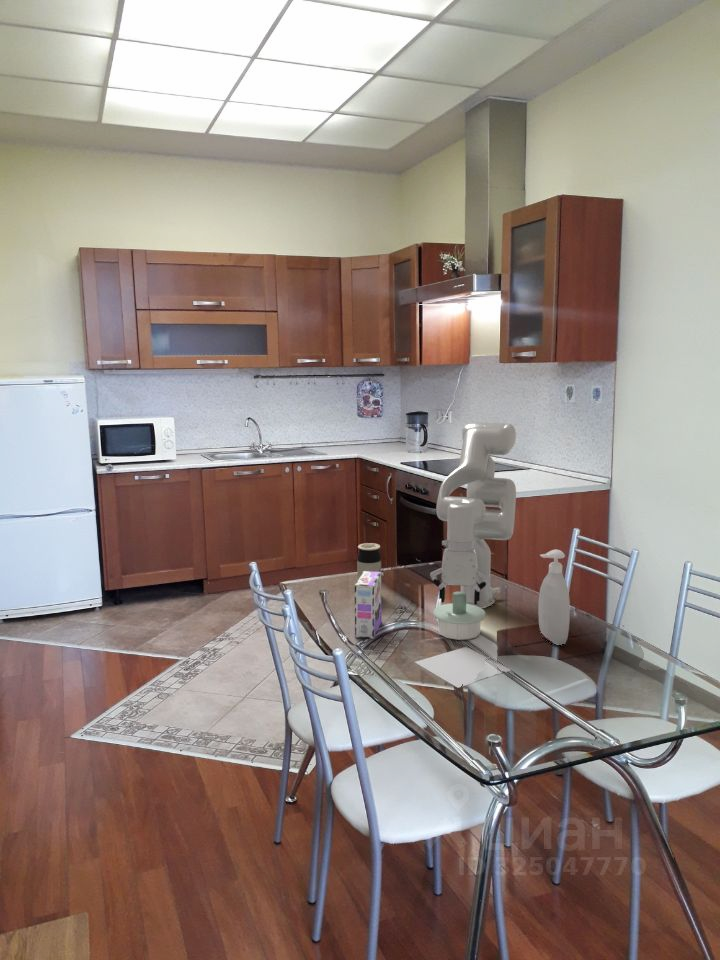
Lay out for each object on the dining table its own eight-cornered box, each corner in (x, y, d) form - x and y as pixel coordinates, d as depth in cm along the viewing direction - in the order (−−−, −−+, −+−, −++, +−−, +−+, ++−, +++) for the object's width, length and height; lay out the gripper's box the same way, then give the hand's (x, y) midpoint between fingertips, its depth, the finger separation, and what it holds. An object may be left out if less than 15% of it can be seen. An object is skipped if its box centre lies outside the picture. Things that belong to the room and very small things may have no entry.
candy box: (374, 639, 215) (373, 585, 212) (354, 638, 216) (353, 584, 213) (382, 622, 228) (382, 571, 225) (363, 620, 229) (363, 570, 226)
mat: (465, 648, 207) (465, 646, 207) (511, 672, 192) (511, 670, 192) (414, 664, 198) (414, 662, 198) (457, 689, 183) (457, 687, 183)
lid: (462, 602, 227) (462, 582, 225) (496, 617, 214) (496, 596, 213) (423, 612, 219) (423, 591, 217) (456, 628, 206) (456, 606, 205)
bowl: (461, 624, 226) (461, 604, 225) (488, 636, 216) (488, 616, 215) (430, 632, 219) (430, 612, 218) (456, 646, 209) (456, 625, 208)
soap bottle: (526, 632, 219) (528, 544, 214) (551, 629, 220) (554, 542, 215) (549, 652, 205) (553, 558, 200) (576, 648, 207) (580, 555, 202)
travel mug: (353, 598, 249) (352, 547, 246) (365, 591, 256) (365, 541, 252) (373, 602, 245) (373, 550, 242) (385, 595, 252) (385, 544, 248)
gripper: (428, 547, 211) (428, 604, 214) (490, 550, 207) (488, 608, 210) (431, 540, 218) (431, 596, 221) (491, 543, 214) (490, 599, 217)
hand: (459, 602), depth 216 cm, fingers open, 9 cm apart
